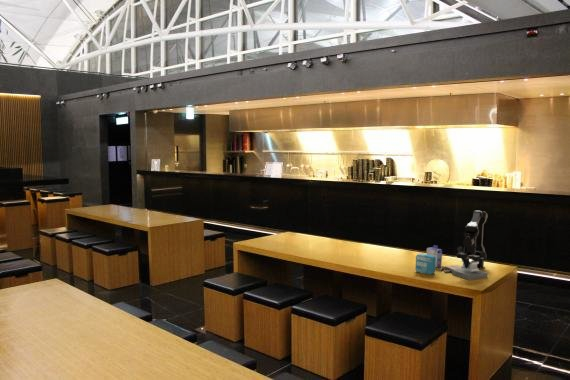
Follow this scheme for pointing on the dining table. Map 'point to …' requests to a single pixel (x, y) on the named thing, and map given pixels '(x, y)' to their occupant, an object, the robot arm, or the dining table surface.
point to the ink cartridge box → (436, 253)
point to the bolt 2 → (448, 271)
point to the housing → (471, 265)
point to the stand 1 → (452, 267)
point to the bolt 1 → (442, 268)
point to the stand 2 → (469, 274)
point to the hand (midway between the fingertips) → (469, 267)
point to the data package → (425, 263)
